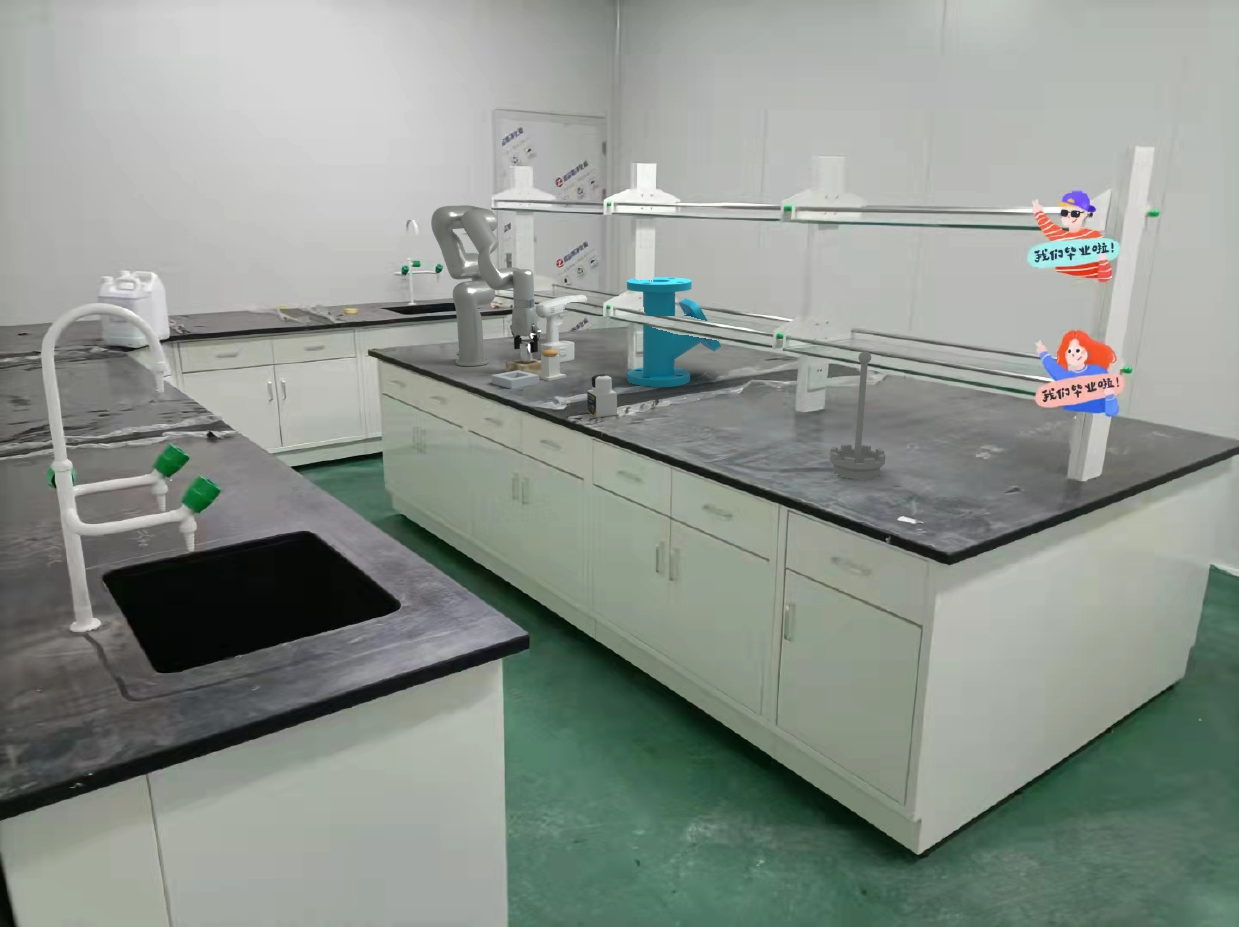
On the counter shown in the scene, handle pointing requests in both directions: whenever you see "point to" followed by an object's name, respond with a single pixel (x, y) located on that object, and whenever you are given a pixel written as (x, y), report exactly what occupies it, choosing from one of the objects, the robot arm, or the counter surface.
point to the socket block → (515, 379)
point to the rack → (524, 366)
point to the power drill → (557, 325)
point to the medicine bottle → (602, 397)
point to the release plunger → (549, 352)
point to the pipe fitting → (665, 333)
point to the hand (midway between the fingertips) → (526, 350)
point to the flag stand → (858, 441)
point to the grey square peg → (525, 353)
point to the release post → (550, 368)
